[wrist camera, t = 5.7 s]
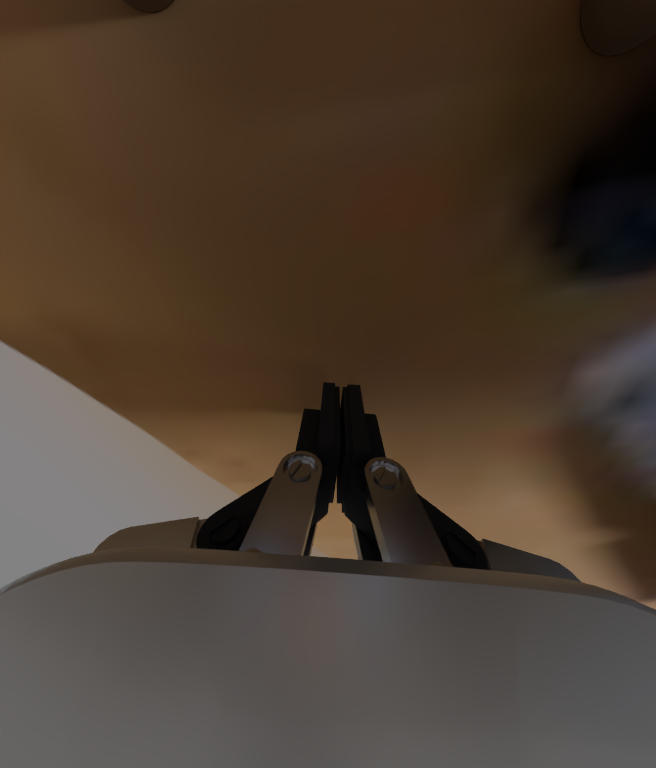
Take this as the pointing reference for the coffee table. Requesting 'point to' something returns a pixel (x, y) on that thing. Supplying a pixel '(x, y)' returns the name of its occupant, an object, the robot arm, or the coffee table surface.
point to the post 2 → (617, 24)
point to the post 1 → (149, 4)
